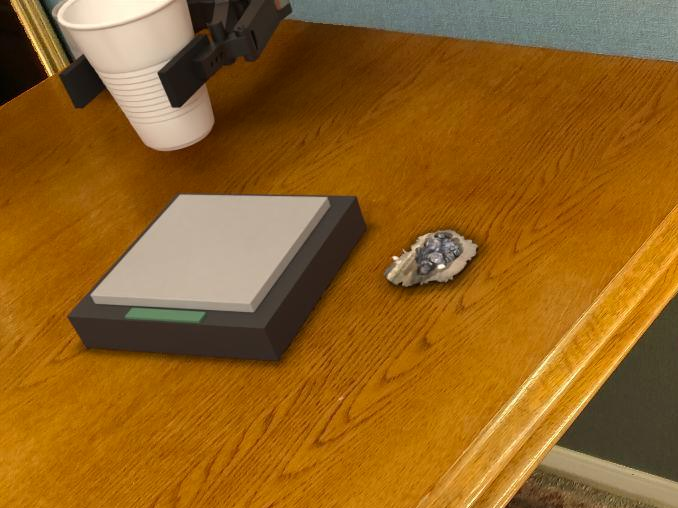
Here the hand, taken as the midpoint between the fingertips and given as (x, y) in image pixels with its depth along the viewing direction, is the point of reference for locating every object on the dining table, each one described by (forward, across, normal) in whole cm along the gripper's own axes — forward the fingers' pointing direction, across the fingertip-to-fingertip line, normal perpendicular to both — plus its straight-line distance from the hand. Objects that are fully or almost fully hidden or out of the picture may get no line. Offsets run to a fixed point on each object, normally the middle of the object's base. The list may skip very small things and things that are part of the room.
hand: (119, 91), depth 77 cm
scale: (+10, -11, -10) cm, 18 cm away
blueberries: (+6, -26, -10) cm, 29 cm away
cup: (-5, 0, -6) cm, 8 cm away
